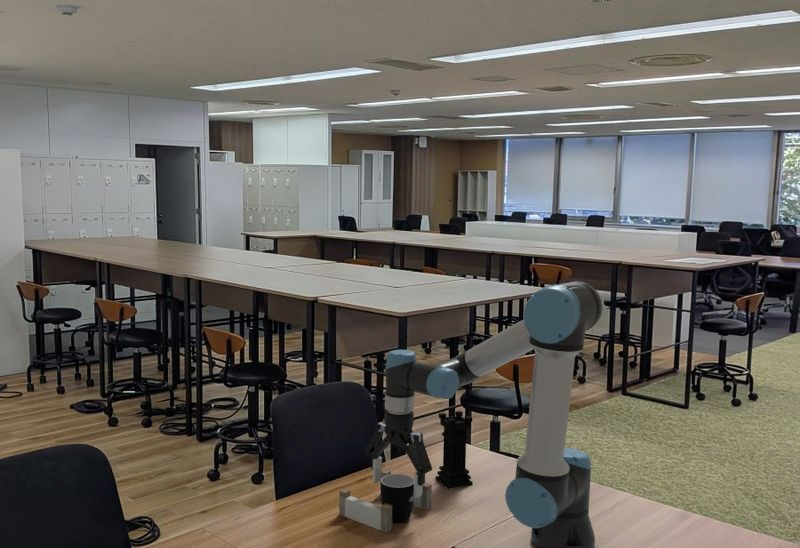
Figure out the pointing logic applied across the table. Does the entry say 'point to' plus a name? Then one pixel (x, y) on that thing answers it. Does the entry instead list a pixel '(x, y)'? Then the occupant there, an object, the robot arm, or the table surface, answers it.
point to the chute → (377, 507)
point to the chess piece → (454, 451)
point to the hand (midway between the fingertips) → (396, 489)
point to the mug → (398, 495)
